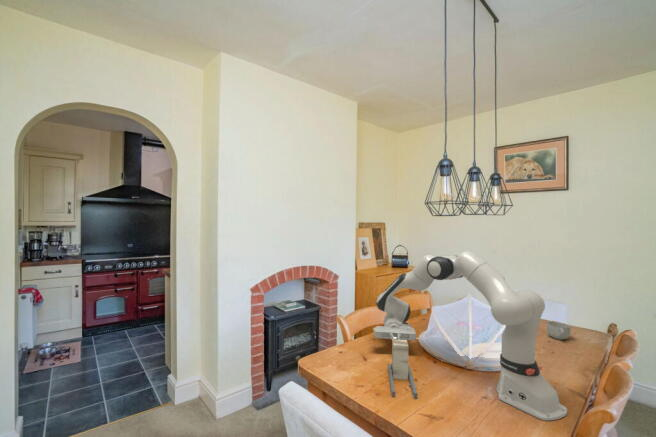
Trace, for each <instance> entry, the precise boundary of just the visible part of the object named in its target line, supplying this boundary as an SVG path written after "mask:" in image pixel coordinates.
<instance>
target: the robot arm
mask: <svg viewBox="0 0 656 437" xmlns="http://www.w3.org/2000/svg"><path fill="white" fill-rule="evenodd" d="M460 278H465V279H466V280H467V281H468V282H469V283H470V284H471V285H472V286H473V287H474V288H475V289H477V291H478V292H480V293H481V295H483V297H484V298H485V299H486V301H487V302H488V305H489V306H490V312H491V316H492V317H493V319H494V320H495V321H496V322H497V323H499V324H500V325H504V326H505V328H504V330H503V332H502V334H501V353H500V356H499V364H500V373H499V379H498V383H497V386H496V389H495V390H496V392H497V394H498V397H497V398H498V399H499V400H500V401H502V402H504V403H506V404H508V405H510V406H512V407H514V408H516V409H518V410H520V411H522V412H525V413H526V414H529V415H531V416H533V417H535V418H537V419H539V420H542V421H556V420H560V419H561V418H564V417H565V416H567V414H568V409H567V407H566V406H565V405H563V404H561V402H560V398H559V394H558V392H557V390H556V389H555V388H554V387H553V386H552V385H551V384H550V383H549V382H548V380H547V379H546V378H545V377H544V376H543V375H542V374H541V371H543V366H539V365H538V362H537V361H536V342H537V335H538V331H539V327H540V324H541V318H542V315H543V312H544V311H545V308H546V305H545V304H546V303H545V300H544V298H542V296H541V295H540V294H538V293H536V292H534V291H530V290H529V291H528V290H520V291H517V292H515V291H513V290H512V288H510V286H509V285H508V284H507V282H506V280H505V279H506V278H505V276H504V274H502V273H500V271H498V270H497V269H496V268H495V267H494V266H492V265H491V264H490V263H488V261H486V260H485V259H484V258H482V257H480V256H479V255H477V254H476V253H474V252H472V251H470V250H465V251H462V252H460V253H459V254H458V255H441V256H435V255H433V254H426V255H424V256H423V257H422V258H421V259H420V260H419V261H418V262H417V263H416V264H415V266H414V267H413V268H412V269H411V271H408V272H406V273H405V272H404V273H401V274H400V275H399V276H398V277H397V278H395V279H394V281H392V282H391V284H389V285H388V287H387V288H385V290H384V291H382V292H381V293H380V294H378V296H377V298H376V301H375V304H376V307H377V309H378V310H379V311H381V312H385V313H386V314H385V315H384V318H383V325H384V326H383V325H377V326H375V327H373V328H372V329H373V337H374V338H375V339H387V340H389V339H390V340H392V339H395V340H407V341H416V340H417V332H416V330H415V328H414V327H412V325H411V323H408V320H409V318H410V317H411V316H410V315H411V314H412V312H411V306H410V304H409V303H408V302H406V301H404V300H402V299H400V298H399V297H396V296H394V295H395V294H396V293H397V292H398V291H399V290H401V289H409V290H413V291H423V290H426V289H428V288H429V287H430V286H431V284H433V282H434V281H435V280H437V281H444V280H445V281H446V280H447V281H448V280H449V281H451V280H457V279H460Z"/></svg>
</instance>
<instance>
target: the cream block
mask: <svg viewBox="0 0 656 437" xmlns="http://www.w3.org/2000/svg"><path fill="white" fill-rule="evenodd" d="M391 340H392V341H391V342H392V343H391V346H392V348H391V351H392V352H391V364H392V375H393V380H403V381H404V380H405V381H408V380H409V378H408V365H409V342H408V340H402V339H400V340H395V339H391Z"/></svg>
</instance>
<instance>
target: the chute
mask: <svg viewBox="0 0 656 437" xmlns="http://www.w3.org/2000/svg"><path fill="white" fill-rule="evenodd" d="M387 371H388V380H389V386H390V393H391V397H392V398H396V389H395V388H396V387H395V384H394V379H393V374H392V363H387ZM408 380H409V384H410V388H411V392H412V396H413V399H414V400H415V399H418V391H417V387H416V384H415V382H414V377H413V372H412V371H411V367H410V365H409V364H408Z"/></svg>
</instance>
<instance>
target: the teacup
mask: <svg viewBox="0 0 656 437" xmlns="http://www.w3.org/2000/svg"><path fill="white" fill-rule="evenodd" d="M546 323H547V325H546V332H547V334H548V335H549V336H550V337H551V338H554V339H556V340H560V341H564V340H566V339H569V338H570V335H571V328H572V326H571V325H569V324H567V323H564V322H560V321H557V320H556V321H554V320H548V321H547V322H546Z"/></svg>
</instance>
